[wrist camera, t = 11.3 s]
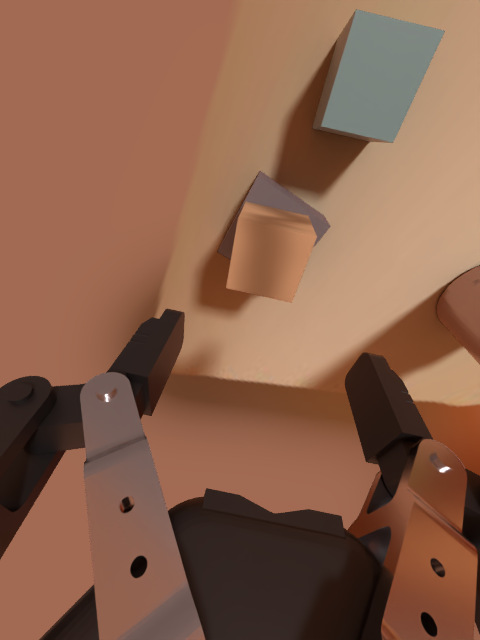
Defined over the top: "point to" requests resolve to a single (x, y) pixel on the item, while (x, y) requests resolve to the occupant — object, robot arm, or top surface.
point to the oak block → (270, 251)
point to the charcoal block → (275, 197)
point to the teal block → (374, 76)
